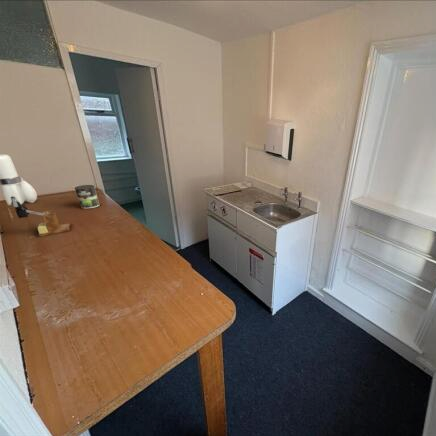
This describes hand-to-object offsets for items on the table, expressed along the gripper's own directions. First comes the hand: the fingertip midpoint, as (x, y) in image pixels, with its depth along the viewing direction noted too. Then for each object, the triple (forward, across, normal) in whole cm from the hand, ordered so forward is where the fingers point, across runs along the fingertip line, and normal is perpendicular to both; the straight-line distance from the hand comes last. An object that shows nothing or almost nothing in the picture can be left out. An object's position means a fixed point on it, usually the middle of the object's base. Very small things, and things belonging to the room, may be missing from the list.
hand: (24, 215), depth 119 cm
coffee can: (+11, -36, +25) cm, 45 cm away
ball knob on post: (+1, 0, +4) cm, 4 cm away
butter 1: (+10, -2, +5) cm, 11 cm away
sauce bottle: (+11, -66, -7) cm, 67 cm away
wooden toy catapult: (+11, 0, +9) cm, 14 cm away
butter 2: (+10, +2, +5) cm, 11 cm away
